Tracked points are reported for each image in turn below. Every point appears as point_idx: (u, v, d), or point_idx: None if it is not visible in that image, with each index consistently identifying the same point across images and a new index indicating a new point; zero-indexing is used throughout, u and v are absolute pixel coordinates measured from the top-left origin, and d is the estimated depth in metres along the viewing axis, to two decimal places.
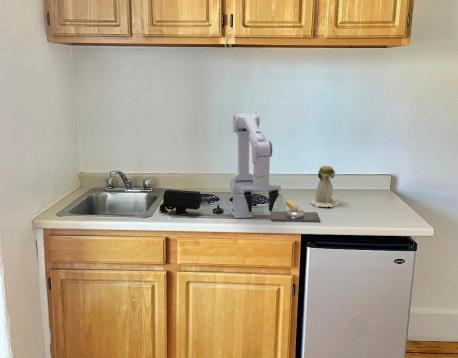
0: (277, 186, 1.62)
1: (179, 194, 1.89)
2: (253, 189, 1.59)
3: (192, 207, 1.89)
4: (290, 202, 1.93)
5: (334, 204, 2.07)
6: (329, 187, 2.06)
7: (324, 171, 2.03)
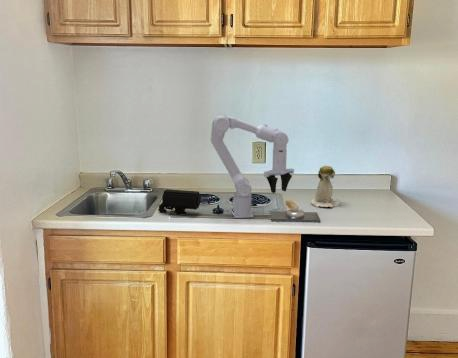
0: (290, 169, 1.92)
1: (178, 194, 1.90)
2: (275, 173, 1.86)
3: (191, 207, 1.89)
4: (290, 202, 1.93)
5: (334, 204, 2.07)
6: (329, 187, 2.06)
7: (324, 171, 2.03)
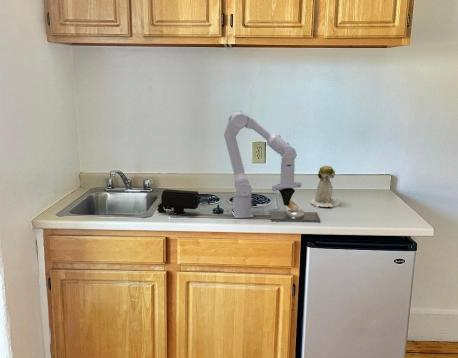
0: (298, 183, 1.94)
1: (177, 194, 1.90)
2: (283, 187, 1.87)
3: (190, 207, 1.89)
4: (290, 202, 1.93)
5: (334, 204, 2.07)
6: (329, 187, 2.06)
7: (324, 171, 2.03)
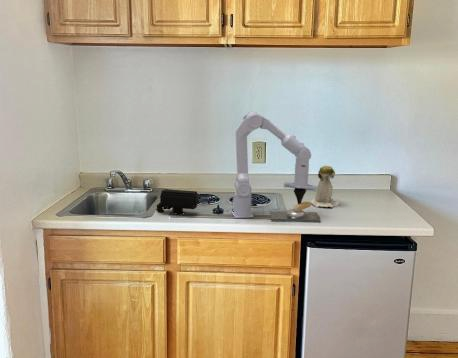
0: (314, 186, 1.88)
1: (176, 194, 1.90)
2: (291, 185, 1.91)
3: (189, 207, 1.89)
4: (303, 203, 1.92)
5: (334, 204, 2.07)
6: (329, 187, 2.06)
7: (324, 171, 2.03)
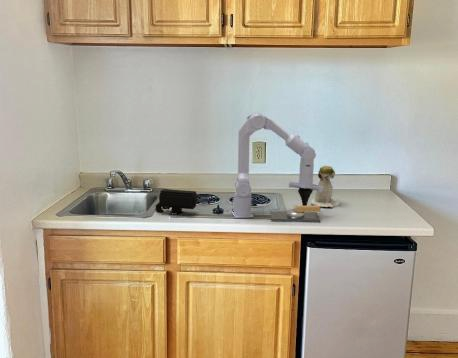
0: (319, 186, 1.87)
1: (175, 194, 1.90)
2: (296, 185, 1.90)
3: (188, 207, 1.89)
4: (310, 206, 1.88)
5: (334, 204, 2.07)
6: (329, 187, 2.06)
7: (324, 171, 2.03)
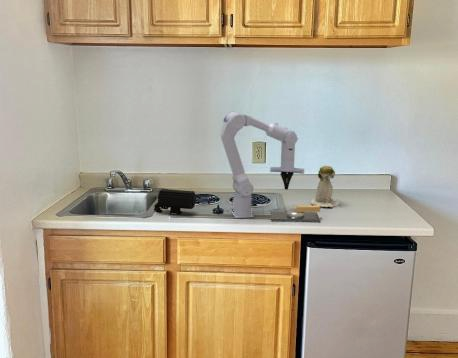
0: (301, 169, 1.92)
1: (173, 194, 1.90)
2: (279, 169, 1.92)
3: (186, 207, 1.89)
4: (310, 206, 1.88)
5: (334, 204, 2.07)
6: (329, 187, 2.06)
7: (324, 171, 2.03)
